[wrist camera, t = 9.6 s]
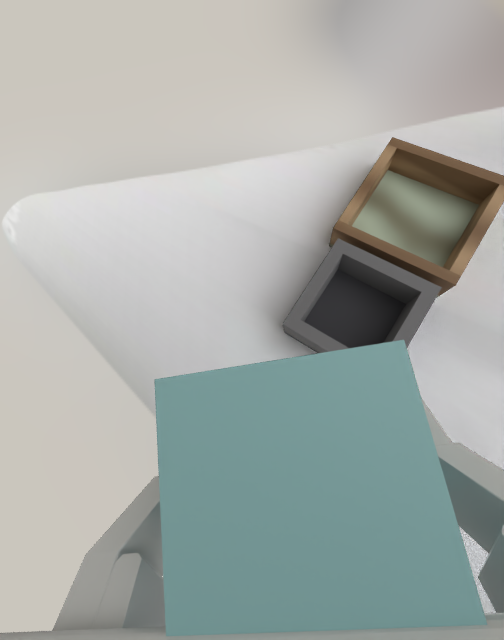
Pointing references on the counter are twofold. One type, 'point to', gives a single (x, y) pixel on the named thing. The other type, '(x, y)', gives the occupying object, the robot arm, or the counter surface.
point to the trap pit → (359, 302)
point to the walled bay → (422, 212)
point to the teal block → (306, 500)
